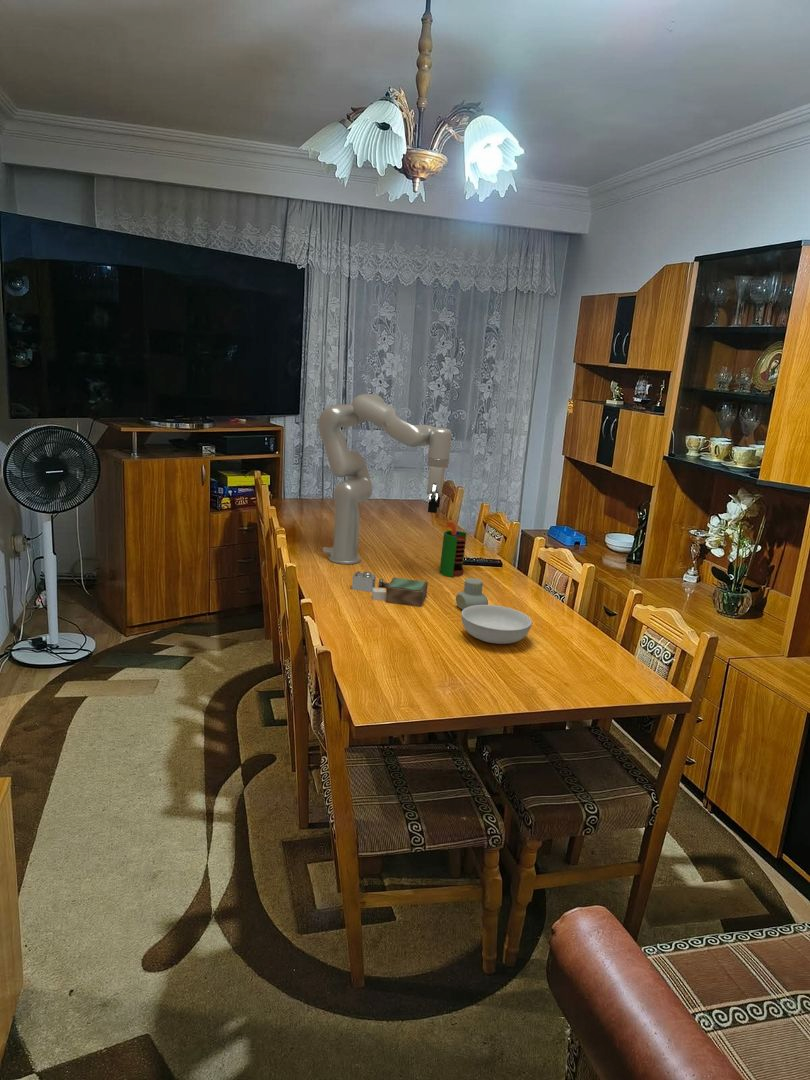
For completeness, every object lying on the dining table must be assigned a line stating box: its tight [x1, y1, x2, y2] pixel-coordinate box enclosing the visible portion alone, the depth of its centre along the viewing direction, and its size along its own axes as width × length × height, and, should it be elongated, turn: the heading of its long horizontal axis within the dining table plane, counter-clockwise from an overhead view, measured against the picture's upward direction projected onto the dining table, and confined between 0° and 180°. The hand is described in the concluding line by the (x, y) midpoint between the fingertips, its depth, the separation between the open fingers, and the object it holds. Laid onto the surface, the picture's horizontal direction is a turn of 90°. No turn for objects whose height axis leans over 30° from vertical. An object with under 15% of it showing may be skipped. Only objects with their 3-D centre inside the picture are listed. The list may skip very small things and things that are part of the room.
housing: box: [351, 571, 377, 593], centre depth 257 cm, size 7×5×6 cm
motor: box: [439, 520, 468, 578], centre depth 282 cm, size 10×9×20 cm
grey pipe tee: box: [455, 577, 489, 611], centre depth 245 cm, size 11×8×10 cm
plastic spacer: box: [371, 587, 387, 601], centre depth 249 cm, size 4×4×3 cm
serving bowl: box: [460, 604, 533, 645], centre depth 222 cm, size 21×21×7 cm
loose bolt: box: [378, 578, 390, 588], centre depth 262 cm, size 6×3×3 cm, turn 80°
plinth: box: [385, 577, 429, 608], centre depth 250 cm, size 12×12×5 cm
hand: (433, 509), depth 269 cm, fingers open, 9 cm apart
